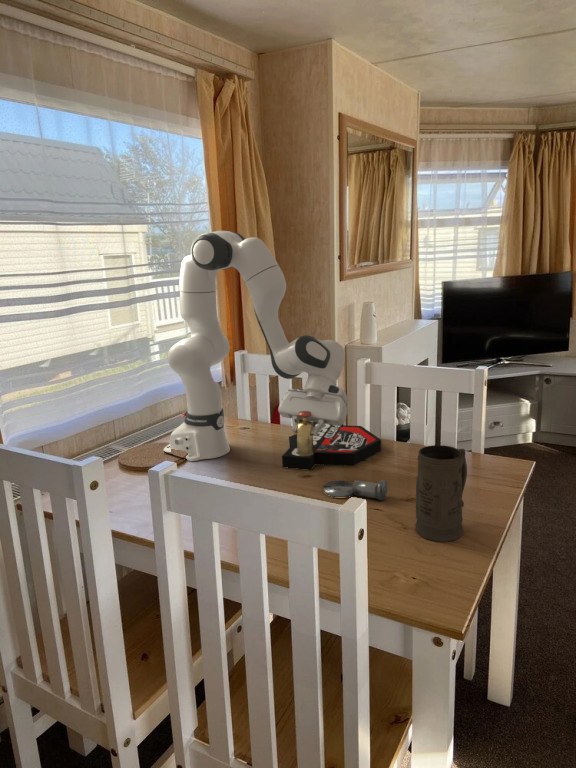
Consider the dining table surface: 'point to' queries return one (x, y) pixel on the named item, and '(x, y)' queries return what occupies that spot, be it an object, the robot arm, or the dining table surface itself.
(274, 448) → the dining table surface
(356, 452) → the decorative sign
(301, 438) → the valve
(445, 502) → the beer stein
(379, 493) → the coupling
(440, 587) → the dining table surface
